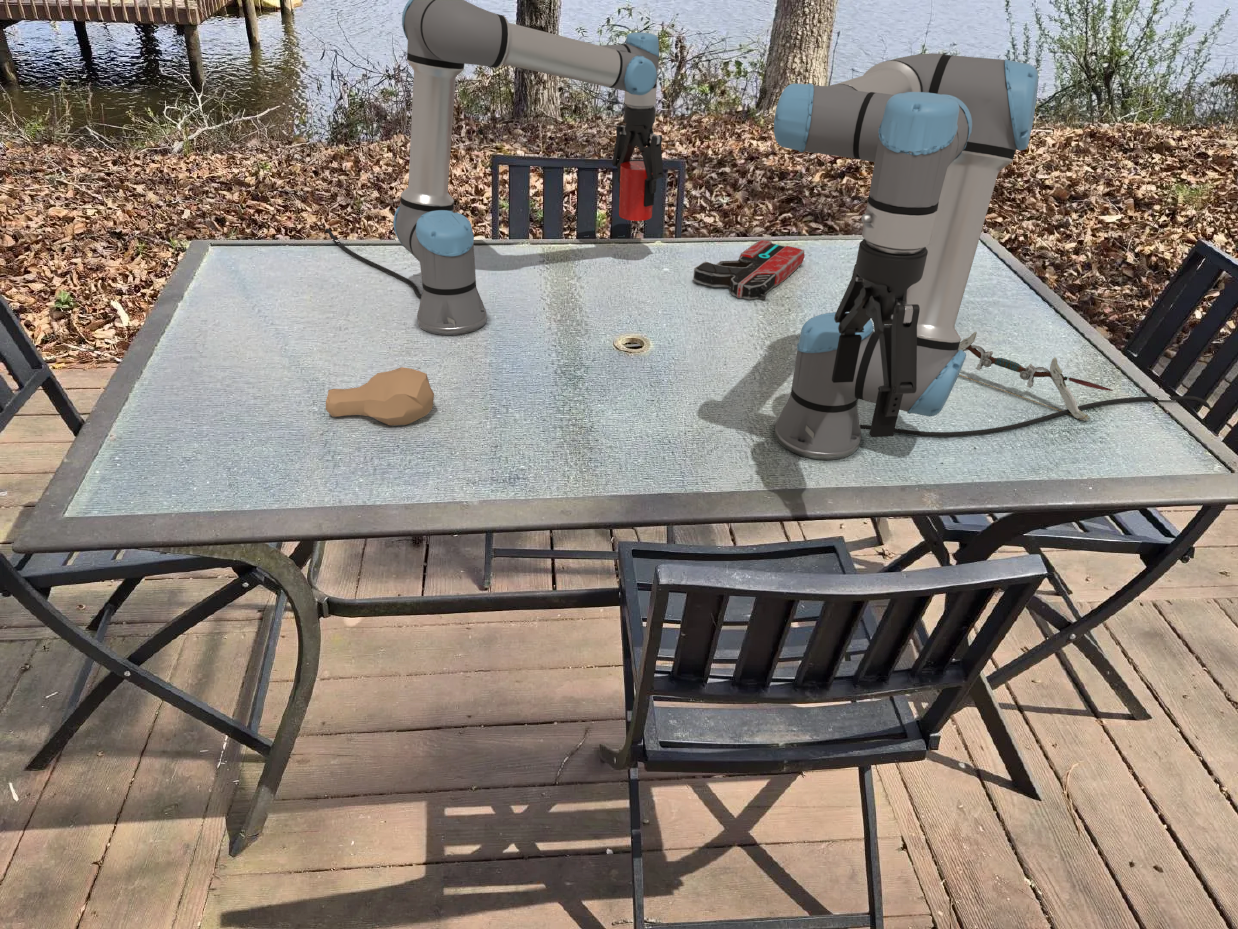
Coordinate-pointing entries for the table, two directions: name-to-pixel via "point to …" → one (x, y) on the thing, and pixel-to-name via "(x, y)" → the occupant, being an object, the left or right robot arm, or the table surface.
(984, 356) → the bow
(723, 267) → the gun
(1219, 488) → the table surface
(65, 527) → the table surface
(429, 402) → the squash
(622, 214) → the tin
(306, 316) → the table surface
